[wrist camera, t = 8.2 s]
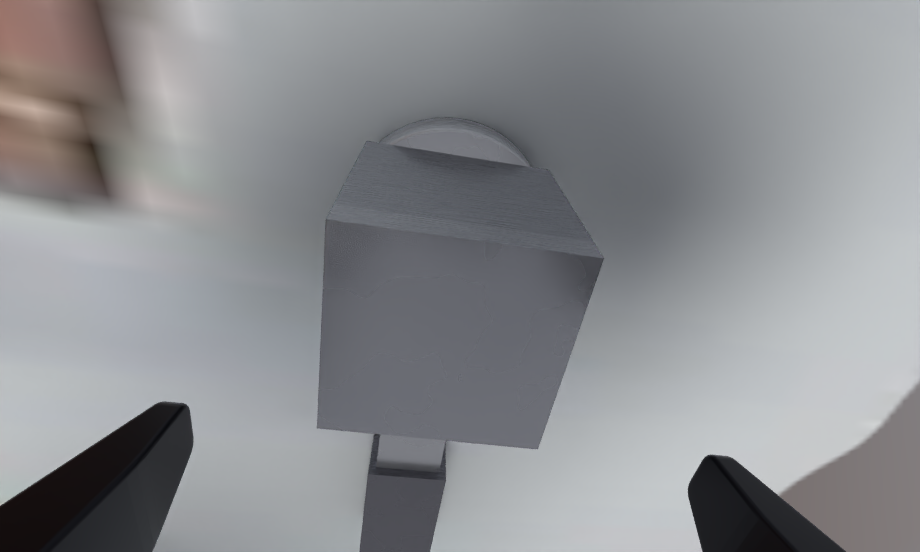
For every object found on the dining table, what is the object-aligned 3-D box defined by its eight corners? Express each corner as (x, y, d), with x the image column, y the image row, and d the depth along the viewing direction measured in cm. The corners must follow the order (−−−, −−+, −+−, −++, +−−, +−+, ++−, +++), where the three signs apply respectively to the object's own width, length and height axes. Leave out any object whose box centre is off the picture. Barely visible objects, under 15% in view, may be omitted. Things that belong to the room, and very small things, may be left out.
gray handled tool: (461, 523, 27) (466, 637, 22) (330, 513, 26) (305, 629, 21) (563, 135, 17) (611, 190, 12) (355, 101, 16) (319, 145, 11)
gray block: (509, 318, 18) (537, 449, 13) (354, 299, 17) (316, 428, 12) (548, 169, 15) (603, 258, 10) (366, 141, 15) (325, 219, 10)
